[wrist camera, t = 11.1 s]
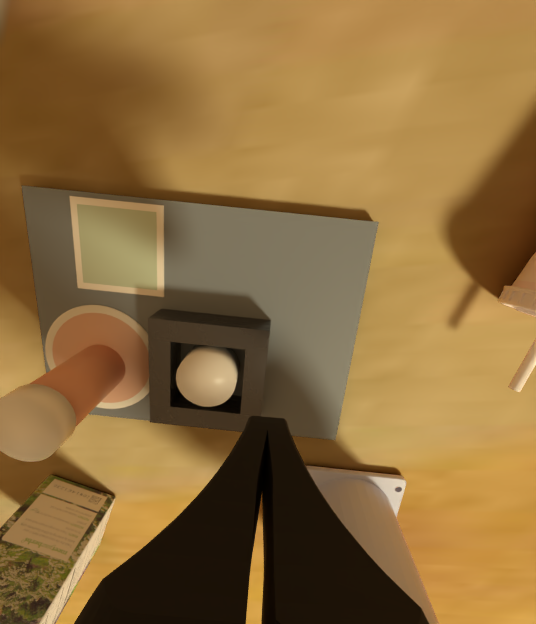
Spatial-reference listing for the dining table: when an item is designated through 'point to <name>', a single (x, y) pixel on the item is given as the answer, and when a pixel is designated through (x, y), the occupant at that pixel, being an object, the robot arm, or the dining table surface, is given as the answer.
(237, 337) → the button collar
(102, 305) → the picture board
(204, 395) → the button
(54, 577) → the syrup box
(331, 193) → the dining table surface
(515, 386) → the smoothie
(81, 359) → the terracotta marker
